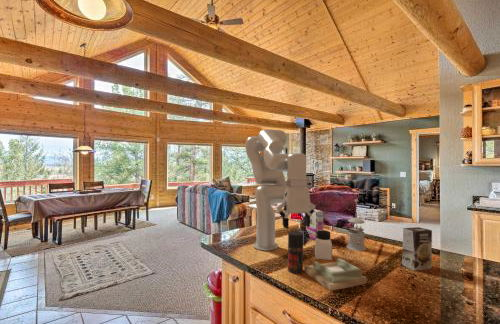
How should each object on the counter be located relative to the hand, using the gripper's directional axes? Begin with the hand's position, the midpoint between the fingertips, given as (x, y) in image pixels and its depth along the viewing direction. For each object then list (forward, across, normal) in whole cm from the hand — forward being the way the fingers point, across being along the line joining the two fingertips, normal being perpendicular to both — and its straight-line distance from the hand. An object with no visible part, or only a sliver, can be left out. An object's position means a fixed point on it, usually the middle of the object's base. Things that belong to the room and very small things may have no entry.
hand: (296, 226), depth 101 cm
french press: (+18, +44, +15) cm, 50 cm away
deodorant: (+18, 0, +1) cm, 18 cm away
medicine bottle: (+18, +20, +10) cm, 29 cm away
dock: (+18, +11, -9) cm, 23 cm away
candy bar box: (+17, +33, +36) cm, 52 cm away
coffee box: (+18, +51, -12) cm, 55 cm away
